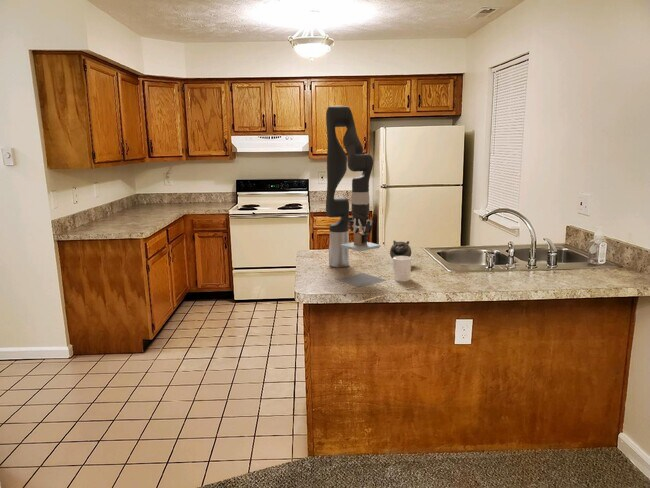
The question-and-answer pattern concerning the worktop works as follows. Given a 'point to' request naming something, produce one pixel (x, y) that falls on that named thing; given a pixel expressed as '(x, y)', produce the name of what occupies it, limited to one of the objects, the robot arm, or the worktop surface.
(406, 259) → the white cup
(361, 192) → the robot arm
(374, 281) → the mat
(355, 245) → the lid
